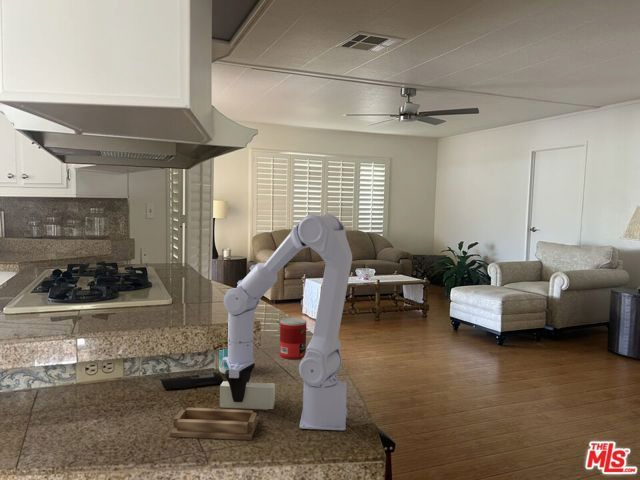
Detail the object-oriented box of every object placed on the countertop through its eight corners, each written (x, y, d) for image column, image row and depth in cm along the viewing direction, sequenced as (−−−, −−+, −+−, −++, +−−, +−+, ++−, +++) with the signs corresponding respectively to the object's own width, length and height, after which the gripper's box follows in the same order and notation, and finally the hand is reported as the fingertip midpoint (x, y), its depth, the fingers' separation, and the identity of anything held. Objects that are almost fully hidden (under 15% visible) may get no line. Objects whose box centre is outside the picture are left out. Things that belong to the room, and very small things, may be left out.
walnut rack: (258, 420, 107) (258, 408, 107) (250, 440, 98) (251, 427, 98) (184, 417, 108) (184, 405, 108) (170, 436, 99) (170, 423, 99)
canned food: (305, 360, 150) (306, 323, 149) (278, 359, 150) (279, 323, 149) (306, 352, 157) (307, 318, 157) (280, 351, 157) (281, 317, 157)
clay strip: (274, 404, 116) (274, 383, 116) (272, 409, 113) (273, 388, 113) (222, 402, 117) (223, 381, 116) (219, 407, 114) (220, 385, 113)
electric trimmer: (159, 388, 125) (159, 376, 125) (221, 380, 131) (221, 368, 131) (161, 394, 122) (161, 381, 122) (224, 385, 128) (224, 373, 128)
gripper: (230, 331, 121) (229, 386, 122) (215, 348, 107) (214, 410, 108) (259, 332, 121) (258, 387, 122) (248, 349, 107) (247, 412, 108)
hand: (239, 398), depth 115 cm, fingers closed on clay strip, 3 cm apart
